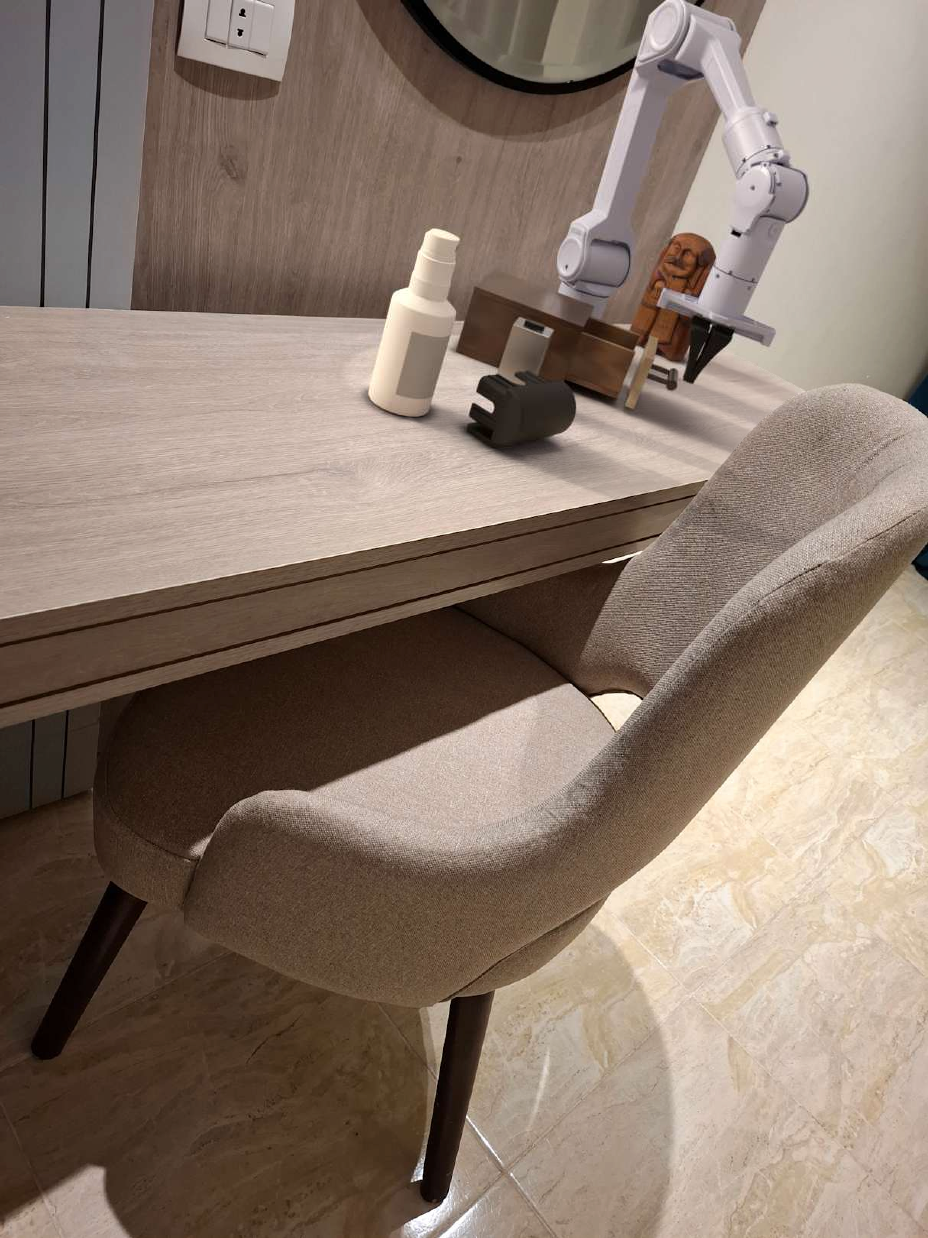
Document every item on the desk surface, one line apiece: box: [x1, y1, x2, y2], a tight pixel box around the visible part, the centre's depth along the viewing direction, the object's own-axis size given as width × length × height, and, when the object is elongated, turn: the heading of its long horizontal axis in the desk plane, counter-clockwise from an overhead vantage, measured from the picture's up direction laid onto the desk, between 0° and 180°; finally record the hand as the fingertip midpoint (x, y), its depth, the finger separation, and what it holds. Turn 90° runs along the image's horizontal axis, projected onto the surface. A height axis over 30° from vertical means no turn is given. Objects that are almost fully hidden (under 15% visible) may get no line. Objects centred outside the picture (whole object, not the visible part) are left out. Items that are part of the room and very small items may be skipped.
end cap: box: [466, 370, 577, 449], centre depth 97 cm, size 10×7×7 cm
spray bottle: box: [368, 228, 461, 417], centre depth 93 cm, size 7×7×18 cm
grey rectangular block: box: [496, 317, 554, 385], centre depth 109 cm, size 4×4×9 cm
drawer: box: [565, 316, 679, 410], centre depth 120 cm, size 18×11×7 cm, turn 76°
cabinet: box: [455, 268, 594, 383], centre depth 121 cm, size 15×13×9 cm
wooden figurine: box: [628, 232, 717, 361], centre depth 144 cm, size 12×6×18 cm, turn 49°
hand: (687, 380), depth 115 cm, fingers closed
